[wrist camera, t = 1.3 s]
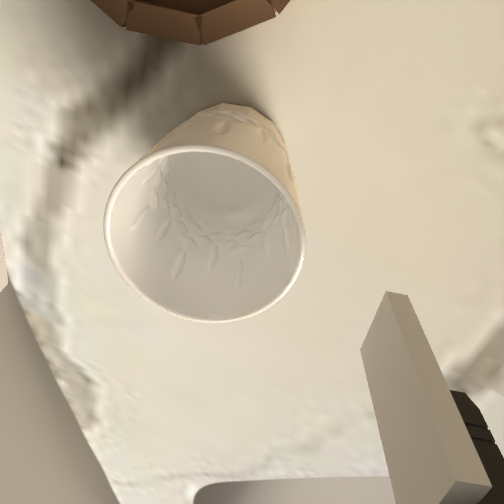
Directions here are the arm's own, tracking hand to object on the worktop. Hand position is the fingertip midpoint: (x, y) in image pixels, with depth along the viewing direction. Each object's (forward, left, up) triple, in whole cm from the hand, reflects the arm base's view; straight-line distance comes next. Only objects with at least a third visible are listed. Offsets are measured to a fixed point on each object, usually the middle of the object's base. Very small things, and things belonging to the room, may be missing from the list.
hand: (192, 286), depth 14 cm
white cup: (0, 0, -13) cm, 13 cm away
